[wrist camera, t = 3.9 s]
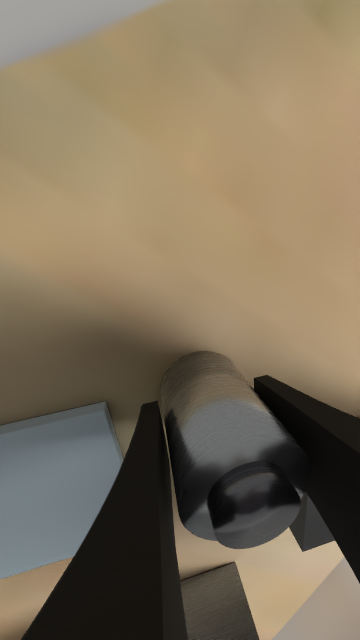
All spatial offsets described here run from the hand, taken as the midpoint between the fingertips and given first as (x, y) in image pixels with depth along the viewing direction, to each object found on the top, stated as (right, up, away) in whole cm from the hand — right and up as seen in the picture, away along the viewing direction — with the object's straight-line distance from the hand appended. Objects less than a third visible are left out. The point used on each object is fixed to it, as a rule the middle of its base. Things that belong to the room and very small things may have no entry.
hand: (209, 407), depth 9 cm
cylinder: (0, 0, +1) cm, 2 cm away
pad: (-9, -5, +2) cm, 10 cm away
